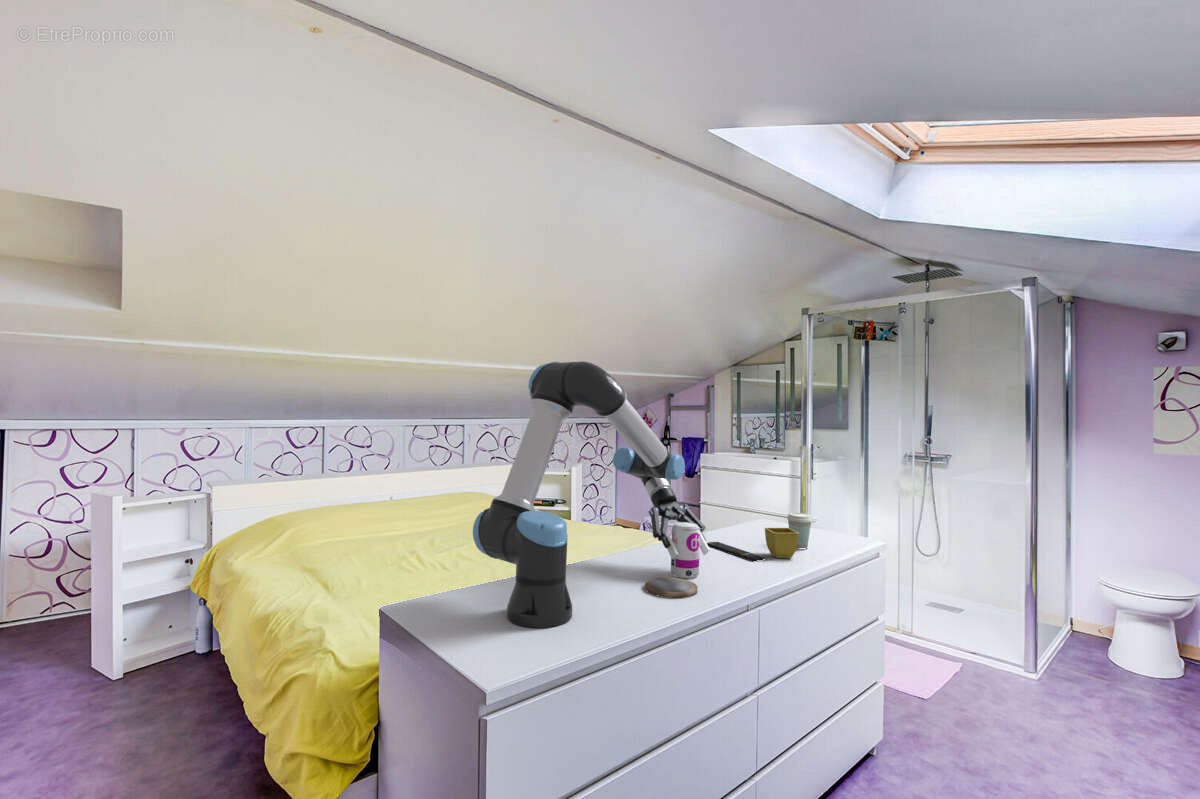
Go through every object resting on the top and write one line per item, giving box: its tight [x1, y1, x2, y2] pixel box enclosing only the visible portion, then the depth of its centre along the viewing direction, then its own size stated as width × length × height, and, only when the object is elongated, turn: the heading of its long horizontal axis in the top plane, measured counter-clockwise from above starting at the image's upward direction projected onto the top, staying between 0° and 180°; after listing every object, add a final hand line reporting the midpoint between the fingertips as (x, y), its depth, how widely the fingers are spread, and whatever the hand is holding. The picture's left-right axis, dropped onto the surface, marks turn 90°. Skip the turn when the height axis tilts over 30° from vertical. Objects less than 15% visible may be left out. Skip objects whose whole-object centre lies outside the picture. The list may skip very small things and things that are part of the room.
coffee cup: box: [786, 512, 813, 549], centre depth 208 cm, size 8×8×12 cm
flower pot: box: [764, 527, 799, 559], centre depth 195 cm, size 9×9×9 cm
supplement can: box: [670, 521, 701, 580], centre depth 170 cm, size 8×8×15 cm
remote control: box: [706, 541, 766, 562], centre depth 199 cm, size 5×24×1 cm, turn 29°
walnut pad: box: [644, 576, 698, 599], centre depth 156 cm, size 14×14×1 cm
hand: (691, 554), depth 167 cm, fingers open, 11 cm apart
